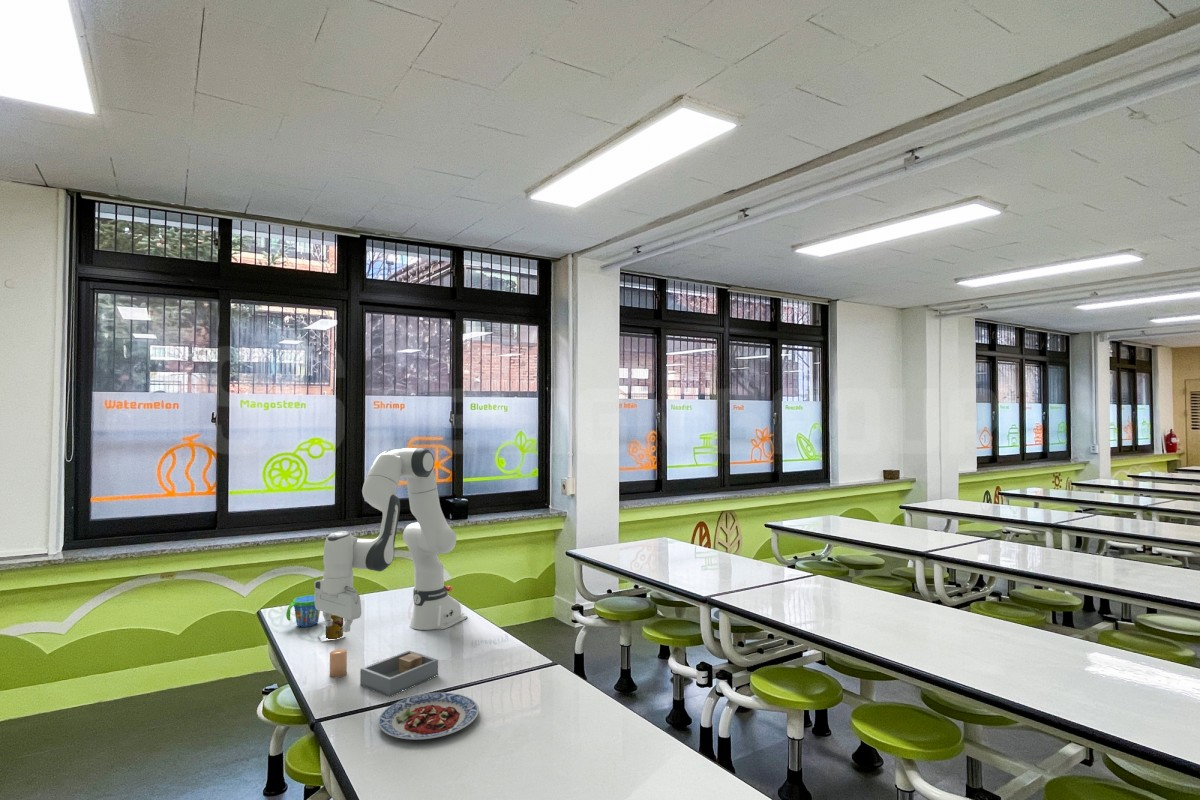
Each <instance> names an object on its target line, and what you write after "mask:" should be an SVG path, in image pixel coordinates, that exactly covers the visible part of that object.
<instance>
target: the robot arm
mask: <svg viewBox="0 0 1200 800" xmlns="http://www.w3.org/2000/svg"><path fill="white" fill-rule="evenodd" d="M434 467H435V457H434V455H433V454H432V452H431V451H430V450H429V449H427V448H424V447H423V448H422V447H417V448H416V447H415V448H414V447H404V448H397V449H387V450H385V451H383V452H381V453H380V454H379V455H377V456H376V458H375V460H374V461H373V462H372V464H371V466H370V469H369V470H368V473H367V475H366V478H365V479H364V482H363V486H362V489H361V493H362V498H363V499H364V500H365V502H366V503H367V504H369V505H370V506H371V507H372V508H374V509H377V510H378V511H380V512H382V519H381V524H380V530H379V534H378V536H377V537H376V538H361V537H356V536H354V535H352V533H351V532H350V531H348V530H339V531H335V532H332V533H330V534H328V535H327V536H326V538H325V542H324V548H323V554H322V555H323V558H322V560H323V561H322V563H323V567H324V571H323V573H322V579H319V580H315V581H313V582H314V583H313V587H314V595H315V607H316V609H317V610H320V612H322V617H323V620H324V626H325V627H326V626H332V625H333V620H332V619H331V615H330V614H332V615H336V616H339V617H342V618H343V622H344V624H343V626H342V628H343V630H342V631H343V633H348V632H350V631H351V625H352V623H353V620H356V619H359V618H361V617H362V616H361V615H362V602H361V596H360V594H359V593H358V591H357V589H356V588H354V570H353V569H358V570H369V571H376V572H383V571H385V570H386V569H387V568H389V566H390V565H391V564H392V563H393V561H394V558H395V541H396V538H397V537H396V536H397V530H398V524H399V518H400V511H401V501H400V499H399V498H400V497H398V496H397V489H398V487H399V483H400V479H406V486H407V489H406V490H407V494H408V495H407V496H408V501H409V510H410V512H411V514H412V515H413V517H414V518H415V519H416V522H412V523H411V522H410V524H408V525H407V526H405V528H404V529H403V533H402V539H403V543H404V544H405V545H406V546H407V549H408V551H409V553H410V556H411V559H412V560H411V561H412V564H413V569H414V570H413V572H414V575H413V576H414V588H413V589H412V590H413V592H412V593H413V594H412V597H413V611H412V616H411V620H410V623H409V626H410V628H412V629H415V630H420V631H422V630H425V631H428V630H429V631H430V630H435V629H436V630H437V629H438V630H444V629H448V628H449V627H452V626H453V625H455V624H458V623H460V622H462V621H464V620H465V619H467V618H468V615H467V614H466V613H464V612H462V609H461V608H462V607H461V604H460V602H459V601H458V600H457V599H455V598H454V597H452V596H450V595H449V594H448V592H449V593H451V592H452V591H453V586H452V585H447V586H446V585H444V584H445V581H444V580H445V568H444V564H443V563H442V562H441V560H440V559H439V556H438V555H443V554H444V555H445V554H449V553H450V552H452V551H453V550H454V548H455V546H456V544H457V534H456V532H455V531H454V530H453V529H452V528H451V526H450V525H449V524H448V521H447V520H446V517H445V515H444V513H443V510H442V507H441V503H440V496H439V491H438V483H437V478H436V475H435V471H434Z"/></svg>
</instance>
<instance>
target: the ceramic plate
mask: <svg viewBox="0 0 1200 800" xmlns="http://www.w3.org/2000/svg"><path fill="white" fill-rule="evenodd" d="M479 709H480V708H479V706H478V703H477V702H476V701H475V700H473V698H470V697H468V696H466V695H463V694H459V693H454V692H429V693H422V694H418V695H413V696H410V697H406V698H404V699H402V700H398V701H397V702H395V703H392V704H391V705H389V707H387V708H386V709H385V710H384V711H383V712H382V713H381V715H379V719H378V726H379V728H380V730H381V731H382V732H383V733H384V734H386V735H389V736H391V737H393V738H396V739H397V738H398V739H401V740H402V739H403V740H428V739H429V740H431V739H435V738H440V737H444V736H448V735H452V734H454V733H456V732H458V731H461V730H462V729H464V728H466V727H468V726H469V725H471V724H472V723H473V722H475V719H476V718H477V717H478V715H479V712H480V710H479Z"/></svg>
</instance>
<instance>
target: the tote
mask: <svg viewBox="0 0 1200 800" xmlns="http://www.w3.org/2000/svg"><path fill="white" fill-rule="evenodd" d="M411 653H413V654H416V655H419V656H422V665H420V666H418V667H415V668H413V669H410V670H408V671H405V672H403V673H400V674H399V658H401V657H403V656H406V655H408V654H411ZM359 671H360V673H359V675H360V677H359V678H360V681H359V684H360V685H359V686H361V687H363V686H364V688H366V689H369V690H370V691H373V690H374V692H376V693H378V694H381V695H384V696H386V697H388V696H389V698H390V696H391V697H393V696H395V695H397V693H398V694H399V692H400V693H402V692H403V691H402V690H405V689H407V690H409V689H411V688H413V687H412V686H414V685H416V686H418V685H420V684H419V683H421V682H423V683H425V682H427V681H426V680H428V679H430V678H432V677H434V676H436V675H438V676H439V659H436V658H434V657H431V656H427V655H425V654H422V653H418V652H416V651H414V650H413V651H412V650H405V651H403V652H401V653H398V654H395V655H393V656H390V657H387V658H385V659H382V660H380V661H377V662H375V663H372V664H370V665H366V666H364V667H361V668H360V670H359ZM434 678H435V677H434ZM432 679H433V678H432ZM430 680H431V679H430ZM424 681H425V682H424ZM428 681H429V680H428ZM417 684H418V685H417ZM421 684H422V683H421ZM410 687H411V688H410ZM414 687H415V686H414ZM408 688H409V689H408ZM401 691H402V692H401ZM405 691H406V690H405ZM394 694H395V695H394ZM392 695H393V696H392Z"/></svg>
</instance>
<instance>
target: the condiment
mask: <svg viewBox="0 0 1200 800" xmlns="http://www.w3.org/2000/svg"><path fill="white" fill-rule="evenodd" d="M330 615H331V619H332V620H333V625H332V626H325V635H326V638H328V639H337V638H340V637H342V636H343V634H344V632H343V631H342V630H343V628H342V626H344V618H342V617H339V616H336V615H332V614H330Z"/></svg>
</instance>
